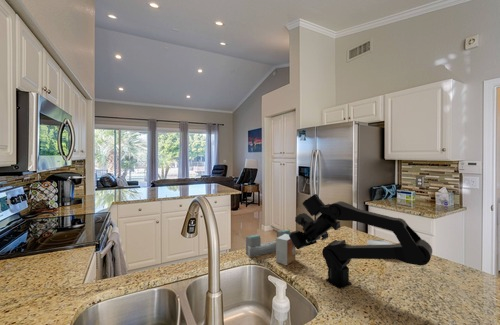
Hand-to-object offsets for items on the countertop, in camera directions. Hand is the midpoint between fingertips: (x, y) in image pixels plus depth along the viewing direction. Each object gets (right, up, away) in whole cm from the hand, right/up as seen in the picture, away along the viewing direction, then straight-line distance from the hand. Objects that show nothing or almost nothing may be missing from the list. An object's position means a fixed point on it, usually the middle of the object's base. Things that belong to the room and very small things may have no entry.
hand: (297, 246), depth 98 cm
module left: (-18, -8, +12) cm, 24 cm away
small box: (-4, -8, +5) cm, 11 cm away
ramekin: (+42, -9, +13) cm, 45 cm away
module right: (-3, -8, +21) cm, 23 cm away
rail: (-10, -8, +15) cm, 20 cm away
